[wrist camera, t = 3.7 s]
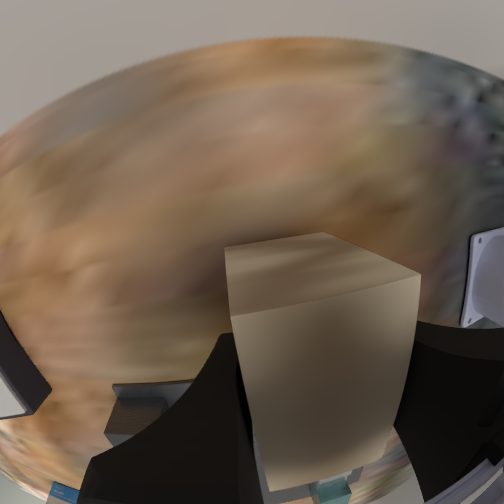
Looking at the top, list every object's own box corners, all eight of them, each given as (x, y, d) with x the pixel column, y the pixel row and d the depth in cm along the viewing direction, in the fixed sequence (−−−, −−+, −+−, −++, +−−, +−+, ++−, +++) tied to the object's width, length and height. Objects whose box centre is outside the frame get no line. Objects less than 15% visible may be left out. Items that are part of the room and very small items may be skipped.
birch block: (323, 232, 11) (420, 274, 5) (328, 370, 12) (381, 458, 7) (224, 247, 10) (230, 316, 5) (249, 388, 12) (269, 491, 6)
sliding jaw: (352, 384, 16) (375, 417, 13) (335, 485, 20) (345, 508, 17) (311, 396, 16) (329, 434, 13) (310, 492, 20) (318, 516, 17)
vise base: (389, 335, 16) (420, 363, 13) (357, 479, 21) (368, 501, 18) (112, 384, 15) (96, 422, 11) (198, 509, 20) (199, 533, 16)
